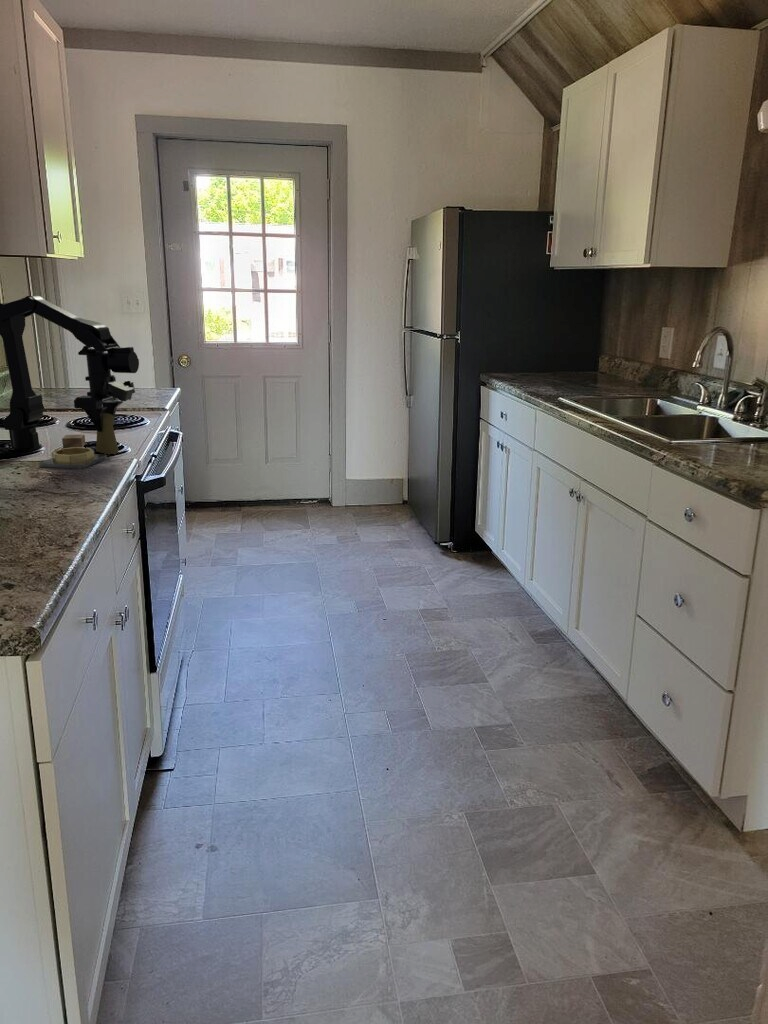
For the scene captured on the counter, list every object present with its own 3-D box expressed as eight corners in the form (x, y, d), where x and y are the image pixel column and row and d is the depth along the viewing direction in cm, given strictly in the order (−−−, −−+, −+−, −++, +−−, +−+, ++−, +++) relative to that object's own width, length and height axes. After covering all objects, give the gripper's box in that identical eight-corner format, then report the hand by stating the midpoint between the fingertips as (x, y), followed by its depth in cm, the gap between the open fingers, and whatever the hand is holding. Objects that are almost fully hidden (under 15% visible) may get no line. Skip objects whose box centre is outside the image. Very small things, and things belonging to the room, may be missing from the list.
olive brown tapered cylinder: (122, 450, 213) (119, 411, 210) (113, 455, 207) (109, 415, 204) (102, 450, 214) (98, 411, 210) (92, 455, 208) (87, 415, 205)
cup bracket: (39, 466, 195) (38, 455, 194) (65, 456, 206) (64, 445, 205) (83, 468, 193) (81, 457, 192) (106, 458, 204) (105, 447, 203)
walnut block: (63, 452, 211) (62, 438, 210) (67, 448, 216) (65, 434, 215) (82, 452, 212) (81, 437, 211) (85, 448, 217) (84, 434, 216)
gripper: (110, 377, 194) (115, 437, 199) (143, 369, 212) (148, 424, 216) (69, 376, 196) (76, 435, 200) (106, 368, 213) (111, 423, 218)
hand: (105, 429), depth 209 cm, fingers closed on olive brown tapered cylinder, 5 cm apart
